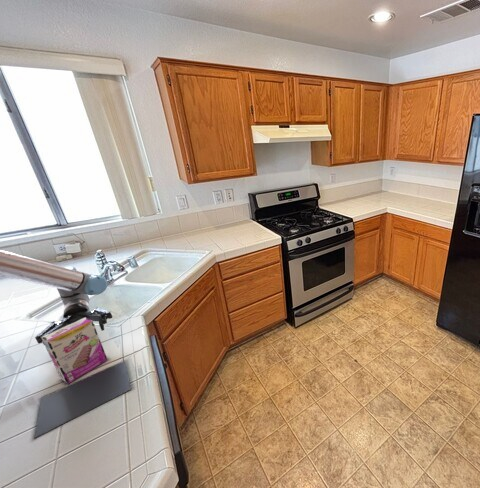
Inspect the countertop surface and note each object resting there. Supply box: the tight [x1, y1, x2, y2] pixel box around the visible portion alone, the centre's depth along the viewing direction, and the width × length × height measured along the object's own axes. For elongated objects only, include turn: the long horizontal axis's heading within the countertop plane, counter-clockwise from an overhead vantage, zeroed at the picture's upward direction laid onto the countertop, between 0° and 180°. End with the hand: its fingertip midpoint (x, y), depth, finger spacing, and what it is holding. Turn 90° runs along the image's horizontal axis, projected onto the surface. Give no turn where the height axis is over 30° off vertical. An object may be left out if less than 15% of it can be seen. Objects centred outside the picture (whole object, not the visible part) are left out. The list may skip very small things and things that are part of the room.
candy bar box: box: [41, 317, 108, 385], centre depth 84 cm, size 11×5×16 cm, turn 154°
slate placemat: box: [34, 360, 132, 439], centre depth 77 cm, size 20×16×1 cm
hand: (76, 336), depth 88 cm, fingers open, 13 cm apart
